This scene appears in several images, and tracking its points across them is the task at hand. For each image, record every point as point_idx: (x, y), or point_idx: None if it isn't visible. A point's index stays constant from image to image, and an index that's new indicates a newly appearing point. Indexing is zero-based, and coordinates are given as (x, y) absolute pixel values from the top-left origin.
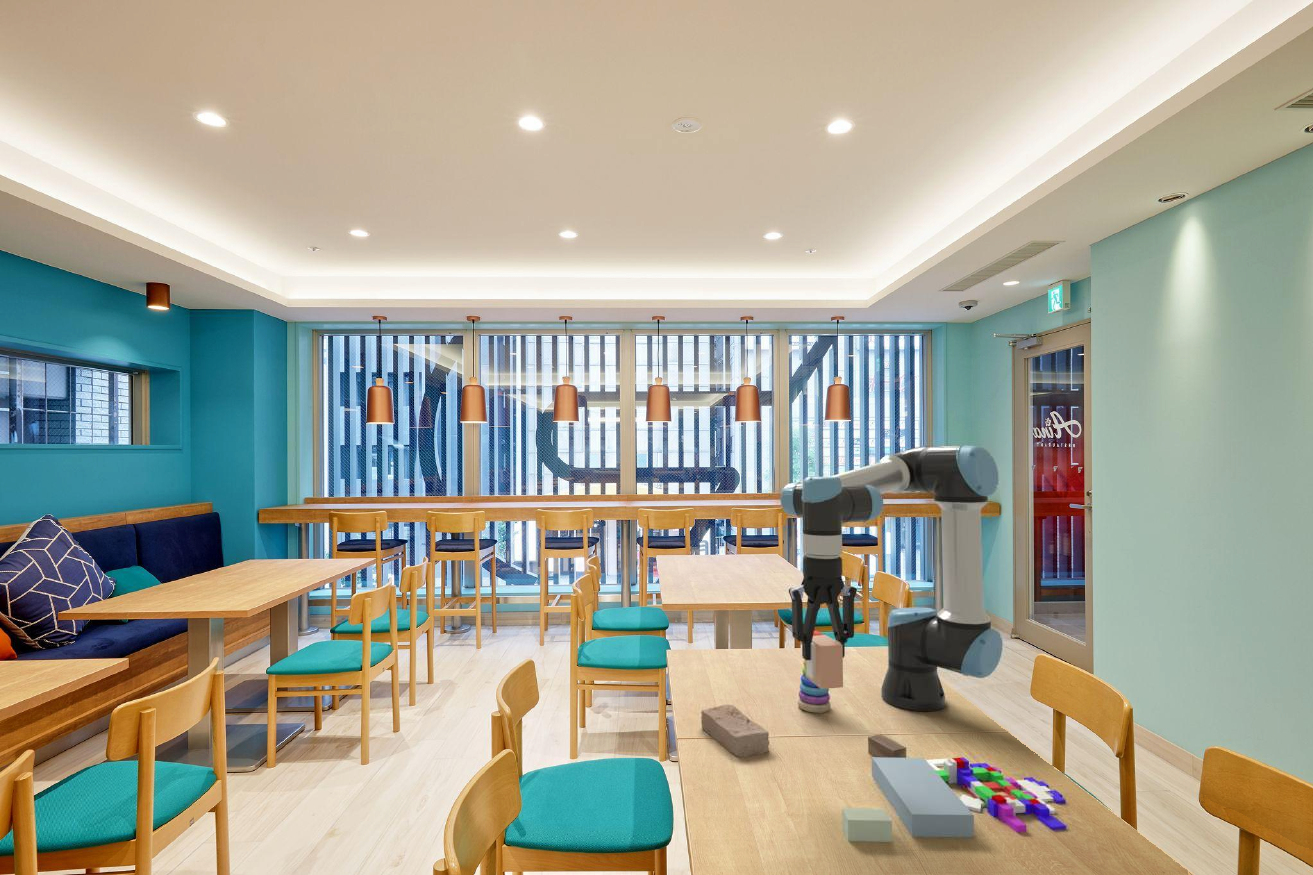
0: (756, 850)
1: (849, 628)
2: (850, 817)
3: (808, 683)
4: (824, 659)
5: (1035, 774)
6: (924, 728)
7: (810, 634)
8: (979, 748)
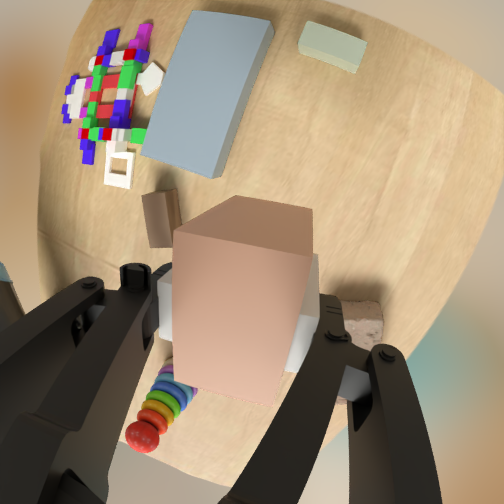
0: (471, 92)
1: (74, 302)
2: (361, 44)
3: (182, 394)
4: (293, 231)
5: (56, 133)
6: (88, 268)
7: (326, 357)
8: (64, 201)
